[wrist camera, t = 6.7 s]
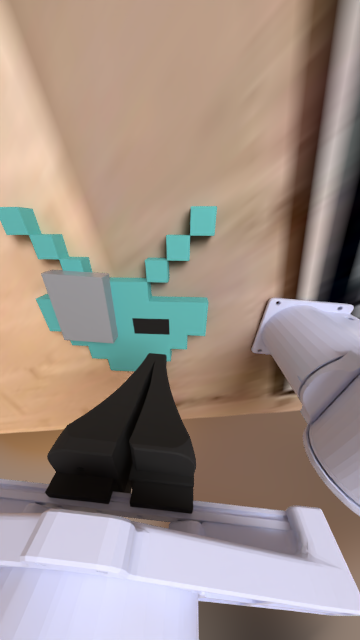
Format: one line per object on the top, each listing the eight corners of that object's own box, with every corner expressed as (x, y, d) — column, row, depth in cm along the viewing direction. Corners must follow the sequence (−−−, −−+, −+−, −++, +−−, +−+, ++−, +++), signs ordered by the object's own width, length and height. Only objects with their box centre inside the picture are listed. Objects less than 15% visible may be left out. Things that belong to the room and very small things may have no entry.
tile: (101, 277, 16) (41, 273, 16) (113, 343, 20) (64, 339, 20) (108, 273, 17) (52, 269, 18) (118, 335, 21) (72, 332, 22)
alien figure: (16, 209, 17) (76, 358, 27) (-6, 207, 15) (67, 368, 25) (213, 208, 16) (200, 363, 26) (216, 206, 14) (201, 374, 24)
